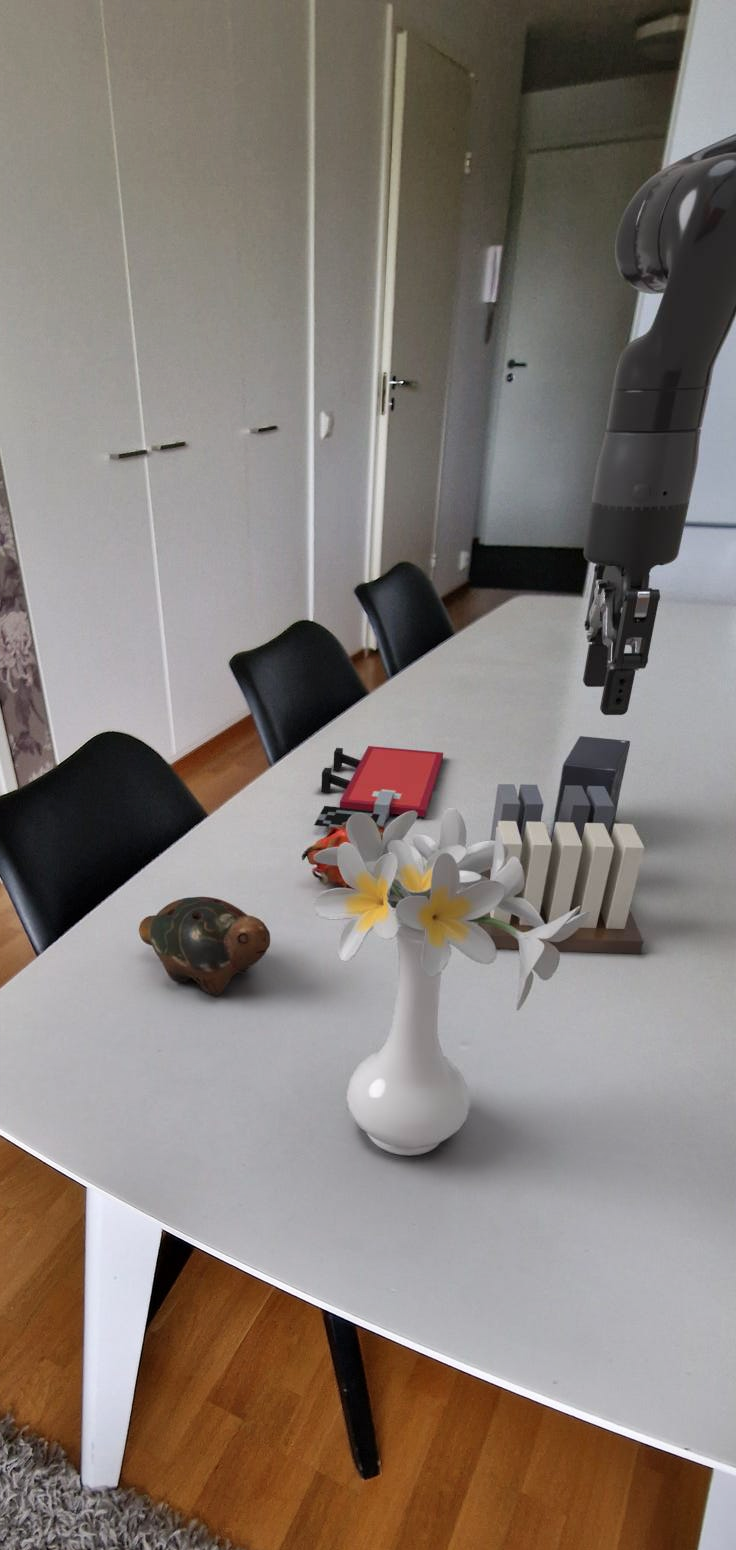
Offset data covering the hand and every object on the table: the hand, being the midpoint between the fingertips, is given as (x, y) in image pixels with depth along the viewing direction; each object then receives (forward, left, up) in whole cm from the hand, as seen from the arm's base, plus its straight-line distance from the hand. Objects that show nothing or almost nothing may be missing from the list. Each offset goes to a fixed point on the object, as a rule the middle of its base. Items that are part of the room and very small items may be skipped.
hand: (603, 699), depth 84 cm
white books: (+1, +1, -22) cm, 22 cm away
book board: (+1, -4, -23) cm, 23 cm away
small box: (-6, -23, -23) cm, 33 cm away
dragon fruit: (+22, -6, -23) cm, 33 cm away
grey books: (+1, -9, -22) cm, 23 cm away
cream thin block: (+1, +1, -22) cm, 22 cm away
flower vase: (+16, +34, -23) cm, 44 cm away
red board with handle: (+20, -34, -23) cm, 46 cm away
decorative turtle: (+36, +13, -23) cm, 45 cm away
